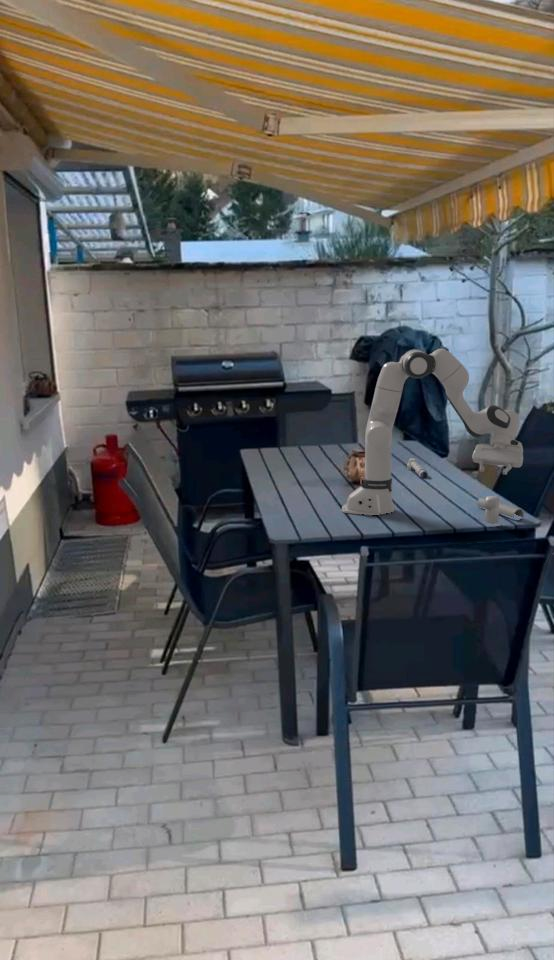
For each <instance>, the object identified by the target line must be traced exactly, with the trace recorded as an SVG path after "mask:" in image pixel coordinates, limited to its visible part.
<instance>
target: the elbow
mask: <svg viewBox="0 0 554 960" xmlns="http://www.w3.org/2000/svg"><path fill="white" fill-rule="evenodd" d="M485 498H486V501H485V502H484V508H485V510H484V513H485V514H484V522H486V523H491V524H495V523H498V522H499V518H500V517H499V516H500V515H499V502H500V496H498V495H497V496H495V495H487V496H486V497H485Z"/></svg>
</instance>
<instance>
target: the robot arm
mask: <svg viewBox="0 0 554 960" xmlns="http://www.w3.org/2000/svg"><path fill="white" fill-rule="evenodd" d="M430 374H432V375H434V376H435V377H436V378H437V380H439V382H440V383H441V384H442V385H443V388H444V389H445V396H446V398H447V400H448V402H449V404H450V405H451V406H452V408H453V409H454V411H455V412H456V414H457V416H458V417H459V419H460V420H461V421H462V423H463V426H464V427H465V430H466V431H467V433H468V434H469V435H470V436H472V437H474V438H482V437H484V436H485V435H486V434H488V433H490V432H492V433H493V436H492V437H491V438H492V439H491V441H490V443H488V442H487V443H485V442H480V443H478V444H476V445H475V448H474V451H473V453H472V455H471V458H472V461H473V463H475V464H476V463H477V464H479V471H480V472H483V473H484V472H485V469H486V468H485V466H484V464H485V465H493V466H501V467H505V468H503V469H502V471H501V472H502V475H507V474H508V473H509V471H510V470H511V469H512V468H518V469H519V468H521V467H522V466H523V462H524V447H523V444H522V442H520V441H518V440H516V439H515V438H516V435H517V434H518V431H519V427H520V416H519V414H518V413H517V412H516V411H514V410H512V409H503V408H501V407H500V406H498V405H493V404H492V405H490V406H488V407H486V408H483V409H481V410H480V411H478V412H475V411H473V409H472V408H471V407H470V405H469V404H468V402H467V401H466V399H465V397H464V391H465V390H466V388H467V387H468V385H469V382H470V373H469V371H468V370H467V368H466V367H465V366H464V365H463V364H462V363H461V361H460V360H459V359H458V358H457V357H456V356H455V355H453V354H452V353H451V352H450V351H448V350H447V349H446V348H438V349H436V350H433V351H432V352H431V353H429V354H428V353H425V352H424V351H423V350H420V349H416V348H412V349H408V350H407V351H405V352H404V353H403V354H402V355H401V356H400V357H399V359H398V360H397V361H396V362H395V361H389V362H386V363H384V364H383V366H382V368H381V369H380V373H379V375H378V377H377V381H376V385H375V388H374V394H373V398H372V401H371V406H370V411H369V415H368V418H367V424H366V427H365V434H364V447H365V448H364V451H365V452H364V457H365V458H364V476H361V477H360V482H359V484H360V485H359V487H358V488H356V489H355V490H353V491H352V492H351V493H350V494H349V495H348V497H347V500H346V503H344V505H342V507H341V512H343V514H355V515H362V514H364V516H372V515H378V516H381V515H386V513H388V514H392V513H394V512H395V508H394V504H393V496H392V491H393V478H392V447H393V445H392V444H393V434H392V432H393V428H394V424H395V422H396V421H395V420H396V417H397V413H398V411H399V406H400V403H401V399H402V394H403V389H404V384H405V382H406V380H407V379H408V378H409V377H411V378H413V379H422V378H424V377H426V376H428V375H430ZM391 512H392V513H391ZM380 514H381V515H380Z"/></svg>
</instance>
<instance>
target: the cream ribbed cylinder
mask: <svg viewBox="0 0 554 960" xmlns="http://www.w3.org/2000/svg"><path fill="white" fill-rule="evenodd" d="M406 466H407V468H406V469H407V470H408V471H415V472H416V473H417V475H418V476H419V477H420V478H421V479H426V478H428V475H429V473H428V472H427V470H426V469H425V468H423V467H422V466H421V465H420V464H419V463H418V462H417V460H416V458H414V457H410V458H409V459H408V463H407V464H406Z"/></svg>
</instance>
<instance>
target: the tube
mask: <svg viewBox="0 0 554 960" xmlns="http://www.w3.org/2000/svg"><path fill="white" fill-rule="evenodd" d="M485 501H486V497H481V498H479V499H477V503H476V505H477V507H478V506H479V507H482V508H484V502H485ZM479 507H478V508H479ZM499 513H501V514H504V515H507V516H510V517H513V518H514V514H516V515H518V516H521V517H523V518H524V517H525V515H524V510H523V509H522V508H518V507H515V506H513V505H509V504H505V503H503V502H500V501H499Z"/></svg>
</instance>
